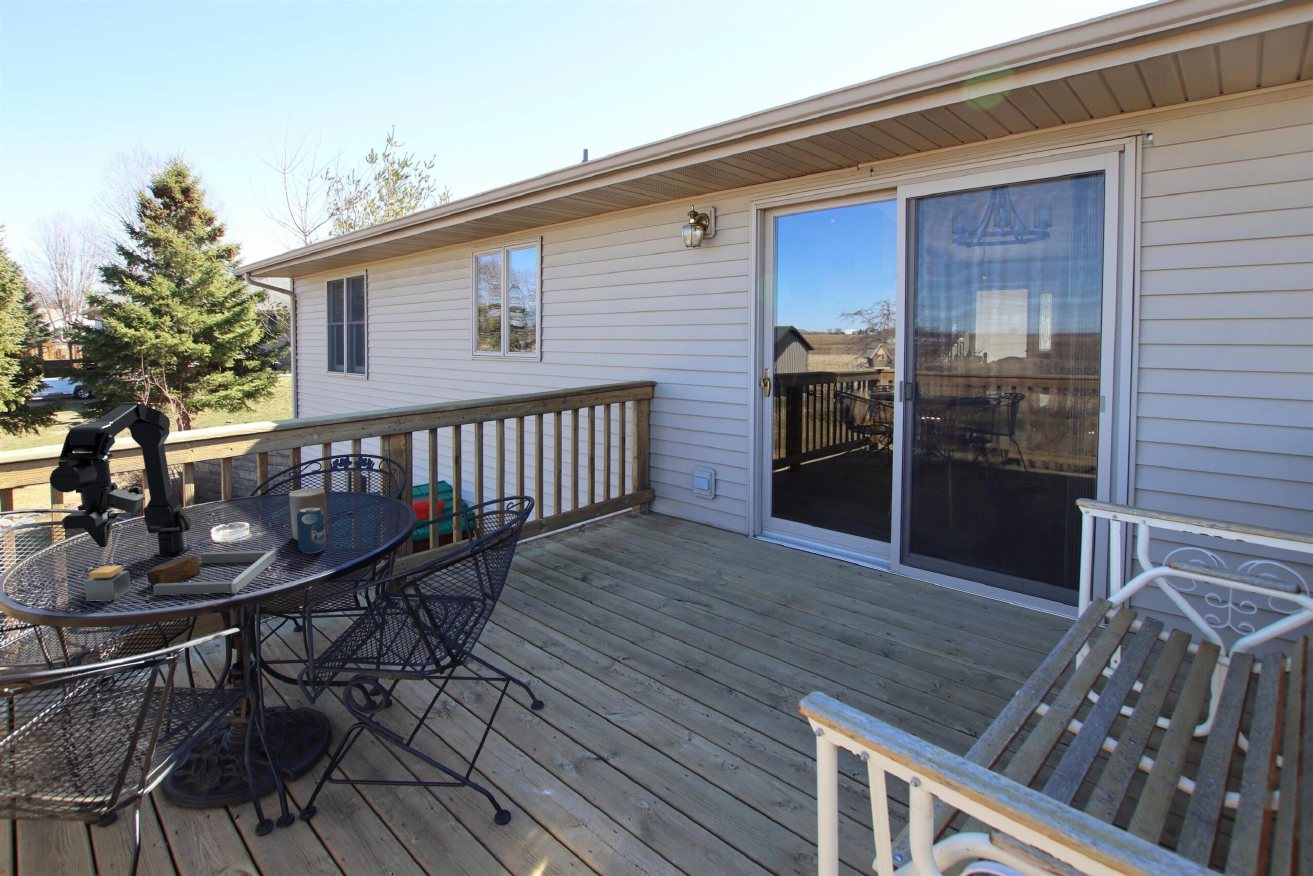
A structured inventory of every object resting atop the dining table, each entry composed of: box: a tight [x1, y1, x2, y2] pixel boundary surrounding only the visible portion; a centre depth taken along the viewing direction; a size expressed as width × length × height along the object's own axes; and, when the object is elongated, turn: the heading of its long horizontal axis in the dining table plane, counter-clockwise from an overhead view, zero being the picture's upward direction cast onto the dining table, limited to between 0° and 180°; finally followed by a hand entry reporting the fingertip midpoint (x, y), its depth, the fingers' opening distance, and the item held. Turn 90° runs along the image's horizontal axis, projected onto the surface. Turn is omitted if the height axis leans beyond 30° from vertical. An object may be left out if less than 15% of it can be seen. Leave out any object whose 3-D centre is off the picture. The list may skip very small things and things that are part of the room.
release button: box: [88, 565, 124, 579], centre depth 161 cm, size 4×4×5 cm
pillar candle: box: [288, 487, 329, 541], centre depth 206 cm, size 10×10×15 cm
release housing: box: [83, 570, 132, 602], centre depth 161 cm, size 6×6×5 cm
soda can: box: [297, 506, 327, 554], centre depth 195 cm, size 7×7×12 cm
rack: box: [152, 550, 277, 596], centre depth 175 cm, size 24×18×2 cm
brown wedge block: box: [146, 555, 201, 587], centre depth 172 cm, size 11×4×5 cm, turn 162°
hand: (103, 546), depth 161 cm, fingers closed
